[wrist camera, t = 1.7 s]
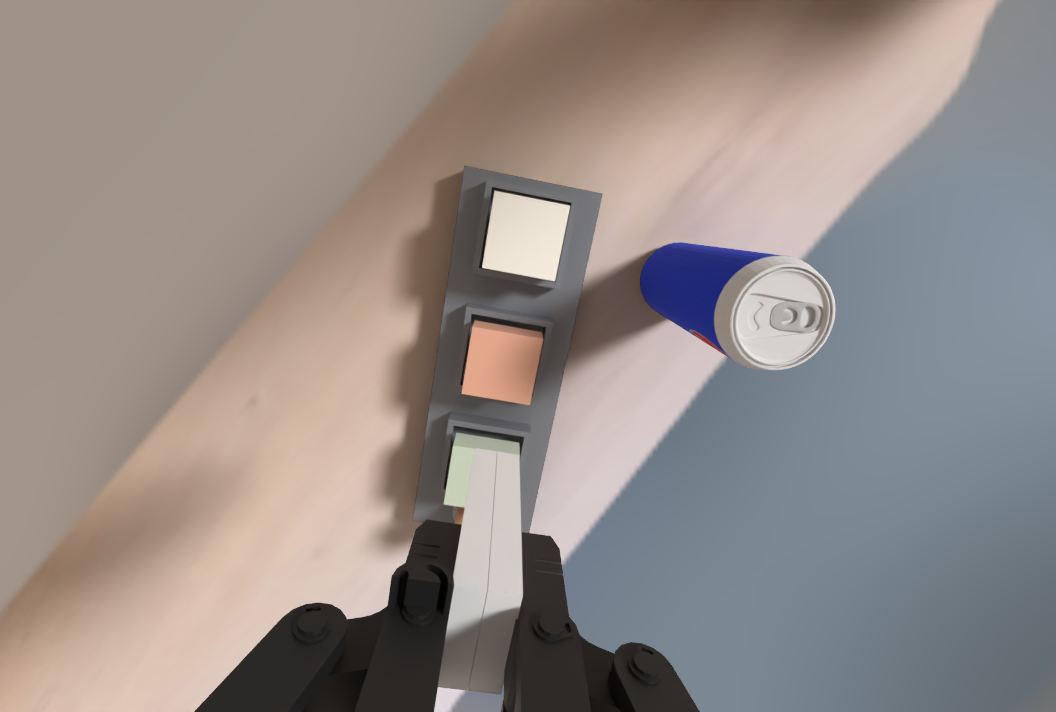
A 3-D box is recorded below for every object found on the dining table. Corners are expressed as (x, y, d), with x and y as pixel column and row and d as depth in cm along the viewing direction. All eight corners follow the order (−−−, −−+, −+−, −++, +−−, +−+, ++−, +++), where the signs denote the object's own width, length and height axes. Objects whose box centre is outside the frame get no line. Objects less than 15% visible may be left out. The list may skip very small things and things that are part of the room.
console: (467, 169, 33) (456, 156, 27) (597, 195, 34) (616, 189, 28) (417, 506, 40) (399, 560, 33) (527, 522, 40) (529, 578, 34)
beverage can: (634, 313, 36) (715, 374, 22) (641, 240, 35) (732, 255, 20) (704, 315, 36) (830, 377, 22) (713, 243, 35) (854, 259, 20)
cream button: (495, 192, 30) (494, 190, 28) (566, 206, 30) (570, 205, 28) (484, 264, 31) (482, 267, 29) (552, 277, 31) (554, 281, 29)
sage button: (456, 432, 34) (453, 445, 32) (519, 442, 34) (519, 456, 32) (447, 488, 35) (443, 504, 33) (508, 498, 35) (507, 514, 34)
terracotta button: (474, 320, 32) (472, 326, 30) (541, 332, 32) (543, 339, 30) (464, 383, 33) (461, 393, 31) (529, 394, 33) (529, 405, 32)
